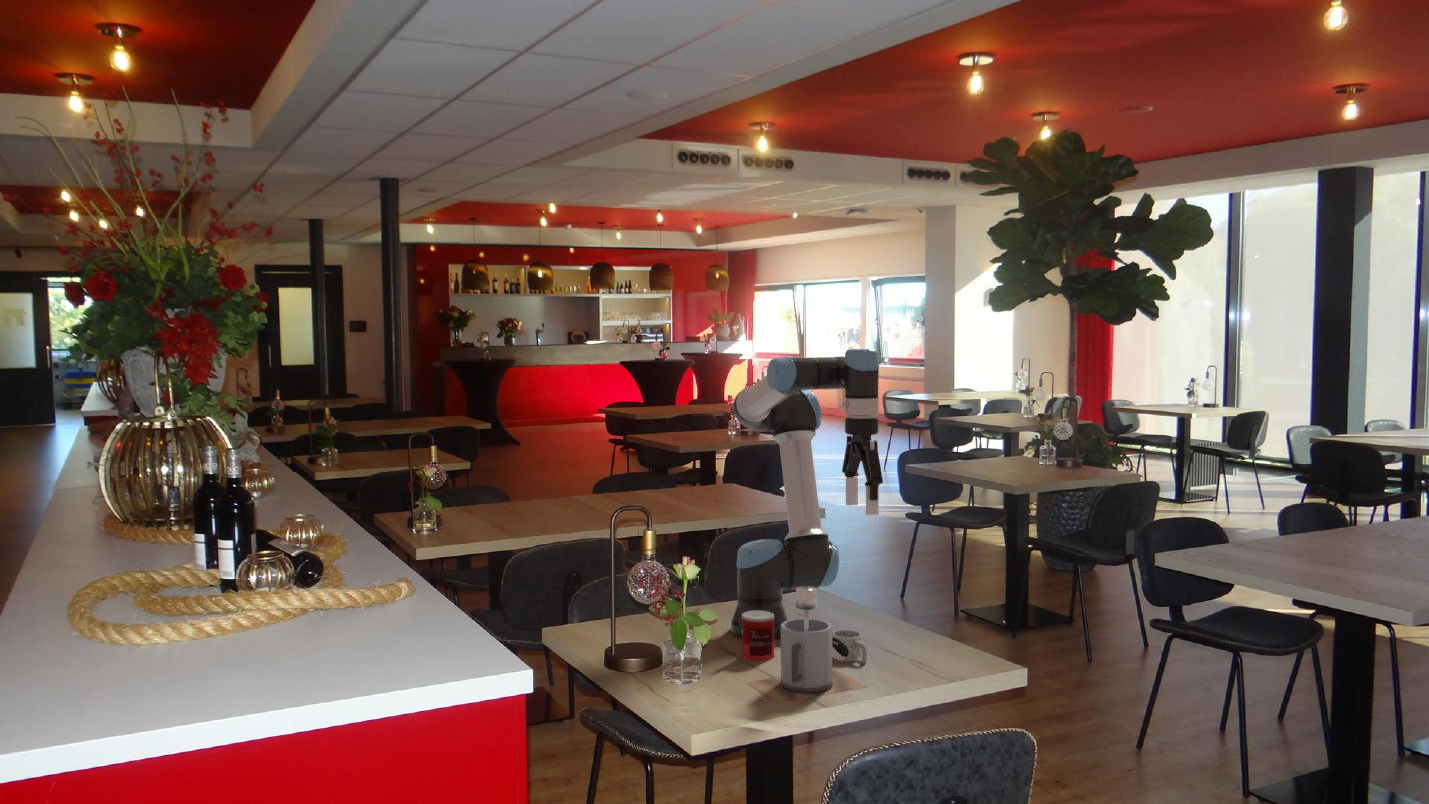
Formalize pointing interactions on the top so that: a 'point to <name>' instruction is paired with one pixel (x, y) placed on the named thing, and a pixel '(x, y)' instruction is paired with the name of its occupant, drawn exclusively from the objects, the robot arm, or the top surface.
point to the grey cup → (806, 656)
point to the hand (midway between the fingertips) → (861, 509)
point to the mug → (848, 646)
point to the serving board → (781, 695)
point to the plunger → (806, 602)
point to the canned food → (758, 635)
